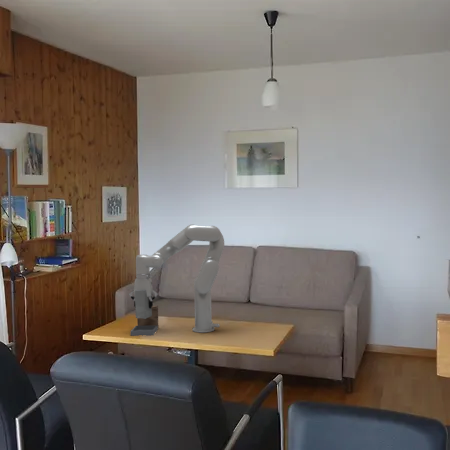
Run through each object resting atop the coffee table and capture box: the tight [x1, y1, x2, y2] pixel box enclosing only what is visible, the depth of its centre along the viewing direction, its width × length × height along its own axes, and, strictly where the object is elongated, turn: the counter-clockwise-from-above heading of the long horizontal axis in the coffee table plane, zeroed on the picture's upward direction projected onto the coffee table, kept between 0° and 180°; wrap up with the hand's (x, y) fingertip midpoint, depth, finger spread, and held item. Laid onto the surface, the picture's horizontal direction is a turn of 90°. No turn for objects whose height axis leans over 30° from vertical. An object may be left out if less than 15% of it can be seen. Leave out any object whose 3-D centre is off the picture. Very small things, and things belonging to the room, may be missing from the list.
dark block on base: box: [136, 305, 159, 329], centre depth 316 cm, size 12×4×13 cm, turn 86°
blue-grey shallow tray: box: [130, 325, 159, 337], centre depth 307 cm, size 13×14×2 cm
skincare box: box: [134, 290, 152, 319], centre depth 307 cm, size 8×7×16 cm
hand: (143, 307), depth 307 cm, fingers closed on skincare box, 7 cm apart
